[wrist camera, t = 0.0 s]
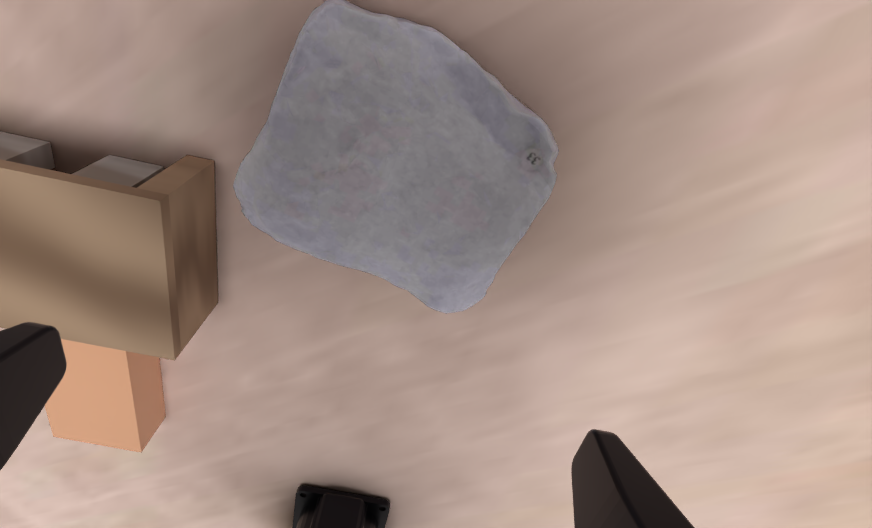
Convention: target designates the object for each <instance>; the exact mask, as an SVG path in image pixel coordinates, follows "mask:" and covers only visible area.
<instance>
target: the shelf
mask: <svg viewBox="0 0 872 528" xmlns="http://www.w3.org/2000/svg"><path fill="white" fill-rule="evenodd" d="M53 168H55V164H54V159H53V154H52V149H51V144H50V142H47V141H43V140H38V139H33V138H29V137H24V136H19V135H15V134H10V133H5V132H1V131H0V327H1V328H6V329H8V328H10V327H13V326H16V325H18V324H21V323H25V322H34V323H39V324H45V325H50V326H53V327H55V328H56V329H57V330H58V331H59V333H60V337H61V339H64V340H70V341H75V342H80V343H86V344H91V345H96V346H102V347H107V348H112V349H117V350H123V351H128V352H133V353H139V354H144V355H149V356H155V357H160V358H165V359H171V360H175V359H176V358H177V357H178V355H179V354H180V353H181V351H182V350H183V349H184V347H185V346H186V345H187V343H188V342H189V341H190V339H191V338H192V337H193V335H194V334H195V333H196V331H197V330H198V329H199V327H200V326H201V325H202V323H203V322H204V321H205V319H206V318H207V317H208V315H209V314H210V313H211V311H212V310H213V309H214V307H215V306H216V305H217V303H218V283H217V246H216V209H215V172H214V161H213V160H208V159H204V158H199V157H194V156H190V155H186V156H185V157H183V158H182V159H180V160H179V161H177V162H176V163H174V164H172V165H171V166H169V167H168V168H166V169H165V170H164V166H159V165H155V164H150V163H145V162H141V161H136V160H131V159H127V158H122V157H117V156H113V155H108V156H106V157H104V158H102V159H100V160H98V161H96V162H94V163H92V164H90V165H88V166H87V167H85V168H83V169H81V170H79V171H77V172H75V173H73V174H68V173H63V172H58V171H54V170H50V169H53Z"/></svg>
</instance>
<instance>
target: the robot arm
mask: <svg viewBox="0 0 872 528" xmlns="http://www.w3.org/2000/svg"><path fill="white" fill-rule="evenodd" d="M66 366H67V362H66V357H65V353H64V349H63V345H62V341H61V337H60V333H59V331H58V330H57V329H56V328H55V327H53V326H50V325H45V324H39V323H34V322H25V323H21V324H18V325H16V326H13V327H10V328H8V329H5V330H2V331H0V470H1V469H2V468H3V466H4V465H5V464H6V462H7V461H8V459H9V458H10V457H11V455H12V454H13V452H14V451H15V450H16V448H17V447H18V445H19V444H20V442H21V441H22V439H23V438H24V436H25V434H26V433H27V431H28V430H29V428H30V427H31V425H32V424H33V422H34V421H35V419H36V418H37V416H38V415H39V413H40V412H41V410H42V409H43V407H44V406H45V404H46V403H47V401H48V400H49V398H50V397H51V395H52V394H53V392H54V391H55V389H56V388H57V386H58V385H59V383H60V382H61V380H62V378H63V376H64V374H65V372H66ZM572 489H573V507H574V524H575V528H694V527H693V526H692V524H691V523H690V522H689V521H688V520H687V518H686V517H685V516H684V515H683V514H682V512H681V511H680V510H679V509H678V508H677V506H676V505H675V504H674V503H673V502H672V500H671V499H670V498H669V497H668V496H667V494H666V493H665V492H664V491H663V490H662V489H661V487H660V486H659V485H658V484H657V483H656V481H655V480H654V479H653V478H652V477H651V475H650V474H649V473H648V472H647V471H646V469H645V468H644V467H643V466H642V465H641V463H640V462H639V461H638V460H637V459H636V457H635V456H634V455H633V454H632V453H631V452H630V450H629V449H628V448H627V447H626V446H625V444H624V443H623V442H622V441H621V440H620V438H619V437H618V436H617V435H615V434H614V433H612V432H607V431H601V430H596V429H592V430H591V431H589V432H588V433H587V435H586V437H585V439H584V440H583V442H582V444H581V446H580V447H579V449H578V451H577V453H576V455H575V456H574V459H573V462H572ZM389 510H390V502H389V501H387V500H385V499H379V498H373V497H368V496H362V495H356V494H351V493H345V492H339V491H333V490H328V489H322V488H316V487H311V486H304V485H302V486H299V487H298V489H297V493H296V499H295V509H294V519H293V528H385V524H386V521H387V517H388V514H389Z"/></svg>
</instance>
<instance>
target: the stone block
mask: <svg viewBox="0 0 872 528" xmlns="http://www.w3.org/2000/svg"><path fill="white" fill-rule="evenodd" d="M558 152H559V150H558V146H557V144H556V142H555V139H554V137H553V134H552V132H551V131H550V129H549V128H548V125H547V124H546V123H545V122H544V121H543V120H542V118H540V117H539V116H538V115H537V114H535V113H534V112H533V111H531V110H530V109H528V108H527V107H525V106H524V105H523V104H521V103H520V102H519V101H518V100H517V99H516V98H515V97H513V96H512V95H511V94H510V93H509V92H508V91H506V90H505V88H504V87H503V86H502V85H501V83H500V82H499V81H498V80H497V79H496V77H495V76H493V75H491V74H490V73H488V72H487V71H485V70H483V69H482V68H481V67H480V65H479V64H478V63H477V62H476V61H475V60H474V59H473V58H471V57H470V56H469V54H468V53H467V52H465V51H463V50H462V49H460V48H459V47H458V46H457V45H456V44H454V43H453V42H452V41H451V40H450V39H448V38H447V37H446V36H445V35H443V34H442V33H441V32H439V31H437V30H436V29H434V28H432V27H429V26H425V25H419V24H417V23H415V22H413V21H410V20H407V19H405V18H398V17H392V16H389V15H387V14H379V13H372V12H371V11H368V10H365V9H363V8H360V7H358V6H356V5H354V4H352V3H350V2H348V1H346V0H327V1H325V2H324V3H323V4H322V5H321V6H319V7H317V8H315V9H314V10H313V11H312V13H311V14H310V16H309V18H308V19H307V21H306V23H305V24H304V26H303V28H302V29H301V31H300V33H299V35H298V38H297V40H296V43H295V46H294V48H293V50H292V52H291V54H290V58H289V61H288V62H287V65H286V67H285V70H284V73H283V76H282V79H281V82H280V84H279V87H278V90H277V93H276V96H275V98H274V100H273V102H272V106H271V110H270V114H269V117H268V120H267V122H266V124H265V125H264V127H263V129H262V130H261V132H260V133H259V135H258V137H257V139H256V141H255V143H254V145H253V147H252V149H251V151H250V152H249V153H248V154H247V155H246V157H245V158H244V160H243V161H242V163H241V164H240V167H239V169H238V172H237V174H236V178H235V181H234V185H233V187H234V190H235V193H236V197H237V198H238V199H239V201H240V202H241V207H242V210H241V211H242V212H243V214H244V216H245V217H246V218H248V220H249V221H250V223H251V224H252V225H253V226H255V227H257V228H258V229H259V230H261V231H263V232H265V233H267V234H268V235H270V236H271V237H273V238H274V239H275V240H276V241H278V242H280V243H282V244H284V245H287V246H289V247H292V248H294V249H296V250H299V251H301V252H304V253H307V254H310V255H312V256H314V257H316V258H319V259H322V260H325V261H328V262H331V263H334V264H337V265H340V266H344V267H348V268H352V269H357V270H361V271H364V272H367V273H370V274H373V275H375V276H378V277H381V278H383V279H385V280H387V281H388V282H390V283H392V284H393V285H395V286H397V287H399V288H402V289H405V290H408V291H409V292H410V293H411V294H413V295H414V296H415V297H417V298H418V299H419V300H421V301H422V302H423V303H424V304H425V305H427V306H428V307H430V308H432V309H434V310H437V311H440V312H443V313H454V312H459V311H464V310H466V309H468V308H469V307H471V306H473V305H474V304H476V303H477V302H478V301H480V300H481V299H482V298H483V297H484V296H485V295H486V290H487V288H488V287H489V286H490V285H491V283H492V282H493V280H494V277H495V274H496V273H497V271H498V270H499V269H500V267H501V266H502V264H503V263H504V261H505V260H506V259H507V257H508V256H509V255H510V253H511V252H512V250H513V249H514V247H515V246H516V244H517V243H518V242H519V240H520V239H521V238H522V237H523V236H524V235H525V233H526V232H527V230H528V228H529V227H530V225H531V223H532V222H533V220H534V219H535V217H536V216H537V214H538V213H539V211H540V210H541V209H542V207H543V206H544V204H545V203H546V202H547V200H548V199H549V196H550V194H551V191H552V189H553V187H554V184H555V182H556V177H557V173H556V172H555V170H554V165H553V164H554V162H555V159H556V157H557V155H558Z"/></svg>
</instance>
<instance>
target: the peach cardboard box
mask: <svg viewBox="0 0 872 528" xmlns="http://www.w3.org/2000/svg"><path fill="white" fill-rule="evenodd" d="M61 341H62V345H63V349H64V353H65V357H66V362H67V366H66V372H65V374H64V376H63V378H62V380H61V382H60V383H59V385H58V386H57V388H56V389H55V391H54V392H53V394H52V395H51V397H50V398H49V400H48V401H47V403H46V404H45V409H46V412H47V416H48V419H49V423H50V426H51V429H52V433H53V436H54V437H58V438H64V439H69V440H75V441H81V442H86V443H92V444H97V445H103V446H108V447H114V448H119V449H125V450H130V451H136V452H142V451H143V449H144V448H145V446H146V445H147V443H148V442H149V440H150V439H151V437H152V436H153V434H154V433H155V432H156V430H157V429H158V427H159V426H160V424H161V423H162V421H163V420H164V418H165V417H166V414H165V405H164V395H163V386H162V377H161V367H160V358H159V357H155V356H149V355H144V354H139V353H133V352H128V351H123V350H117V349H112V348H107V347H102V346H96V345H91V344H86V343H80V342H75V341H70V340H64V339H61Z"/></svg>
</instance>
